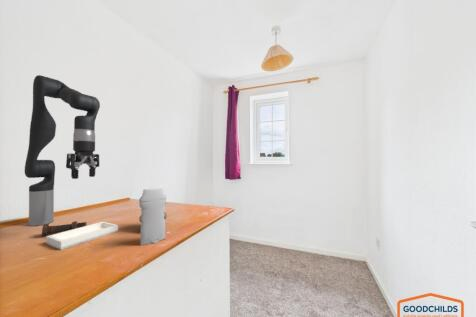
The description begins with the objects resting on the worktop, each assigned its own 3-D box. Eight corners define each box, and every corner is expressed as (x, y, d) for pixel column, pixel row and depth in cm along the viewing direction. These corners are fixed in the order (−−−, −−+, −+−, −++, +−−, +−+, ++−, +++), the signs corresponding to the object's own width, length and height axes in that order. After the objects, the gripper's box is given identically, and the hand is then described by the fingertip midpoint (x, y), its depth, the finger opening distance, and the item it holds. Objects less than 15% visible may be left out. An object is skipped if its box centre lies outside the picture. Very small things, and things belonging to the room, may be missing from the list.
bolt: (86, 233, 94) (42, 240, 85) (86, 225, 97) (44, 231, 88) (86, 224, 92) (41, 230, 83) (86, 216, 95) (43, 221, 86)
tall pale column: (141, 247, 75) (141, 189, 75) (137, 243, 77) (137, 188, 78) (168, 239, 82) (168, 186, 82) (164, 236, 85) (164, 185, 85)
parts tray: (46, 243, 78) (46, 236, 78) (102, 227, 96) (102, 221, 96) (61, 250, 72) (61, 241, 72) (117, 231, 91) (118, 225, 91)
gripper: (90, 141, 93) (89, 176, 93) (60, 138, 79) (59, 179, 79) (104, 141, 92) (104, 176, 92) (77, 139, 78) (77, 179, 78)
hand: (83, 177), depth 86 cm, fingers open, 8 cm apart
